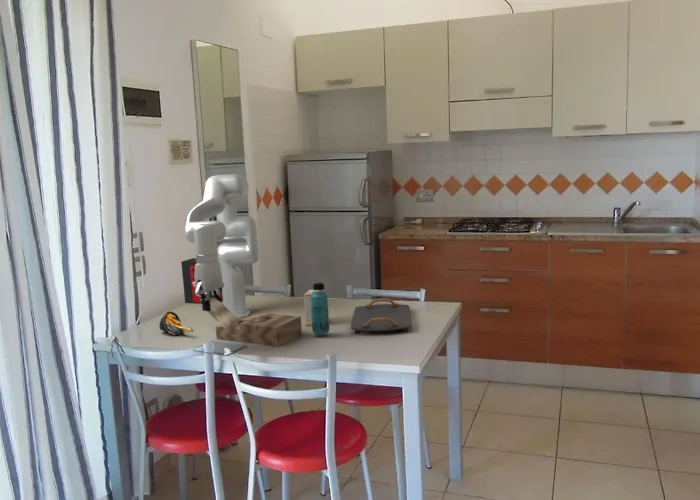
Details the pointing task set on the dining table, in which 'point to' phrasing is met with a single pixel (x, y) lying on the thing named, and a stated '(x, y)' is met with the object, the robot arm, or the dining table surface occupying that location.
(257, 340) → the slotted wooden block
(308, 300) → the supplement box
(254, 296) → the dining table surface
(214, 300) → the maple bar
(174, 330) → the fried shrimp in bowl
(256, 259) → the robot arm
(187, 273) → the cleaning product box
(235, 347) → the rubber mat
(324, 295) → the beverage bottle
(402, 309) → the serving board
